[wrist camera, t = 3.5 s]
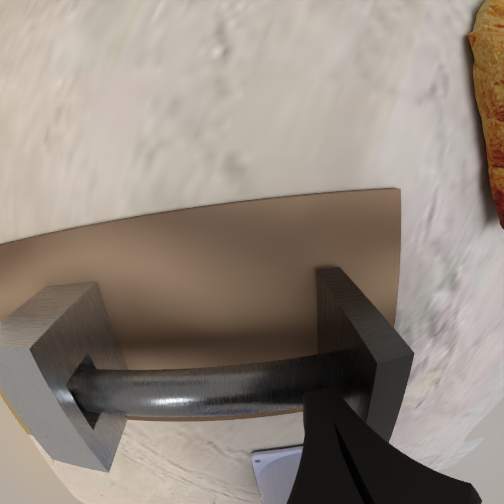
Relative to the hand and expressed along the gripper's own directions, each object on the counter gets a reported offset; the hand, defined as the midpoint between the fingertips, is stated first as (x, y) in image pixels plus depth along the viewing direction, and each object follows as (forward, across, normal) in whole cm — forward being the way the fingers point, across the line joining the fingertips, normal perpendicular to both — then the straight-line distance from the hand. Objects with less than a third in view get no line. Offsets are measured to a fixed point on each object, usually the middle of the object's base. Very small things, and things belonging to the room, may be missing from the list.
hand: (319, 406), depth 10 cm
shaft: (+5, +6, 0) cm, 8 cm away
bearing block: (+7, +12, 0) cm, 14 cm away
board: (+7, +7, 0) cm, 10 cm away
